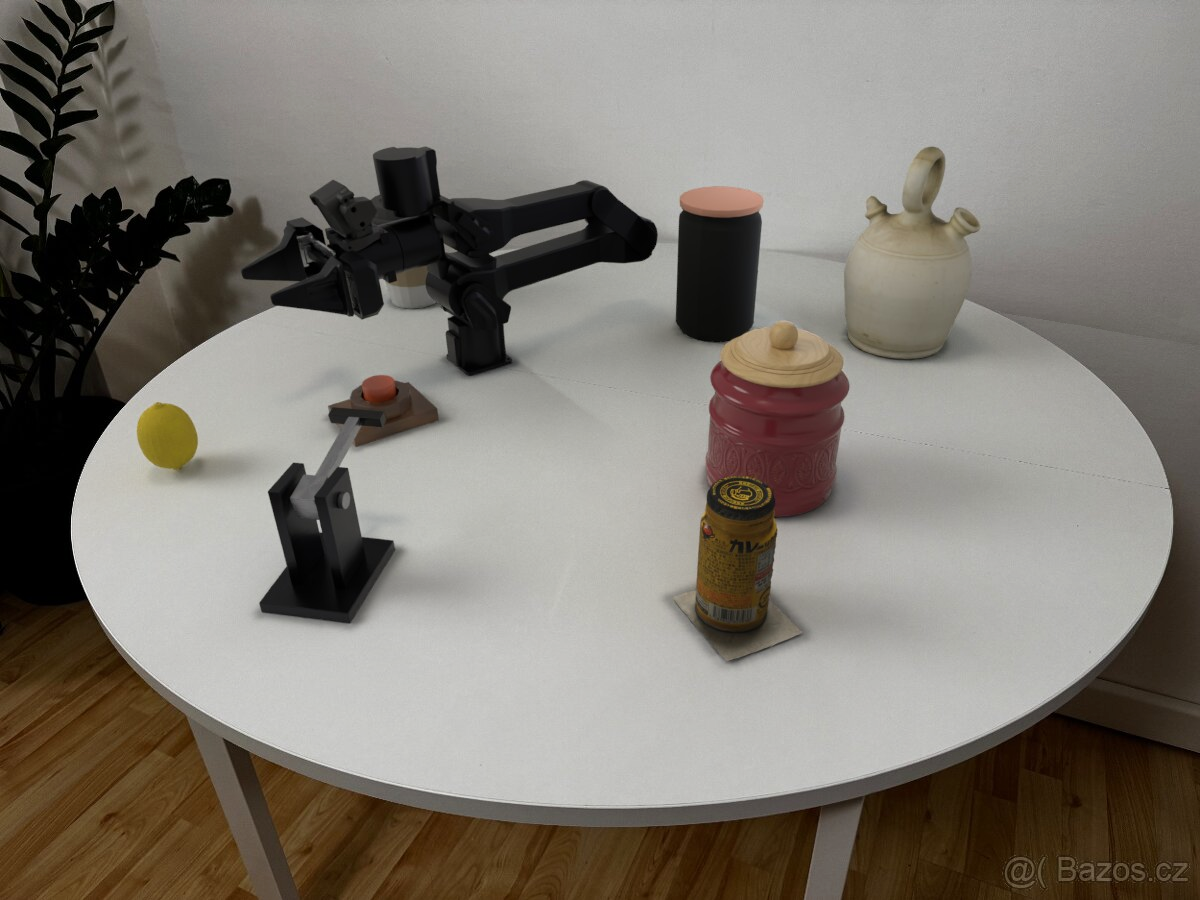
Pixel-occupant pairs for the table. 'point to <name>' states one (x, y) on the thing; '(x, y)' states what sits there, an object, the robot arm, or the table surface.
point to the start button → (379, 388)
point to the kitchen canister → (778, 414)
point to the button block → (391, 412)
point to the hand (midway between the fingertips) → (256, 286)
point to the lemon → (167, 436)
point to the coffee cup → (410, 283)
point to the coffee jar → (717, 262)
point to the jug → (909, 269)
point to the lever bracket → (323, 552)
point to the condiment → (737, 570)
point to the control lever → (332, 456)
